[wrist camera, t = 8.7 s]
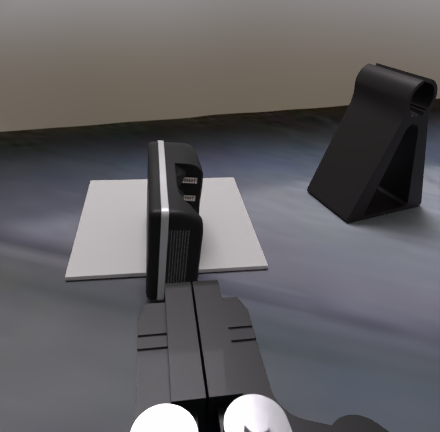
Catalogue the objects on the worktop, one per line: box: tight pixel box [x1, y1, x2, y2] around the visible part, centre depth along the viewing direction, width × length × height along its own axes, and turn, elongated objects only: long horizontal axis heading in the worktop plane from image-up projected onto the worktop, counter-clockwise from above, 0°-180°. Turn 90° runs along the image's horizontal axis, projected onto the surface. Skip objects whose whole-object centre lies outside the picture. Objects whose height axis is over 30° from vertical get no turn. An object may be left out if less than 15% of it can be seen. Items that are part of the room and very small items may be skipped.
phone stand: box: [307, 63, 437, 223], centre depth 35 cm, size 9×6×12 cm, turn 114°
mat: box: [65, 178, 268, 281], centre depth 33 cm, size 14×14×1 cm
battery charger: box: [146, 140, 203, 300], centre depth 28 cm, size 7×4×11 cm
